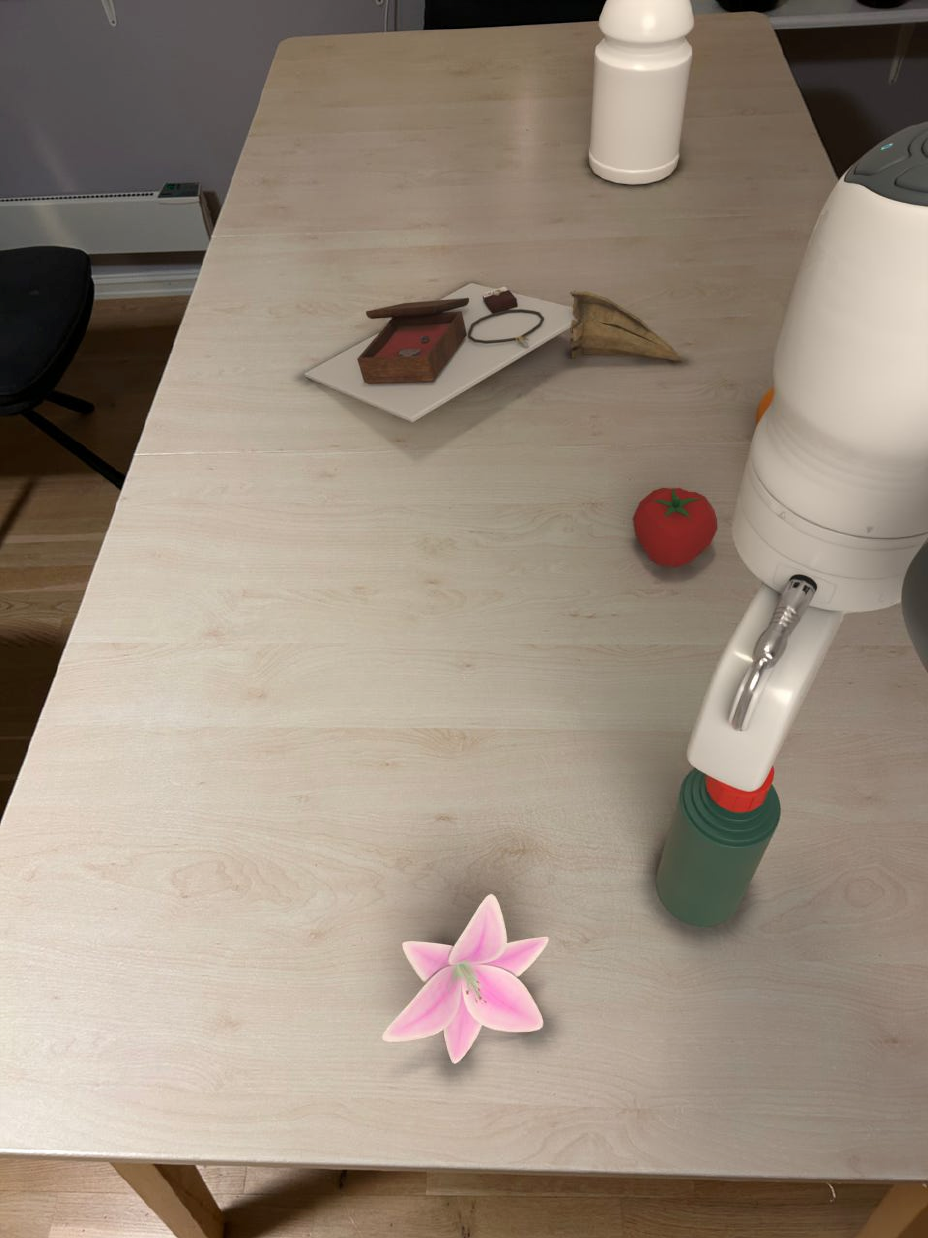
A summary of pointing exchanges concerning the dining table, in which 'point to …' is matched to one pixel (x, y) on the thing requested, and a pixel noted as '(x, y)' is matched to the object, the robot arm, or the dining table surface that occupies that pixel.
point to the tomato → (674, 525)
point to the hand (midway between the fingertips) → (772, 689)
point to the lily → (470, 985)
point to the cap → (738, 794)
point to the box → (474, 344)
